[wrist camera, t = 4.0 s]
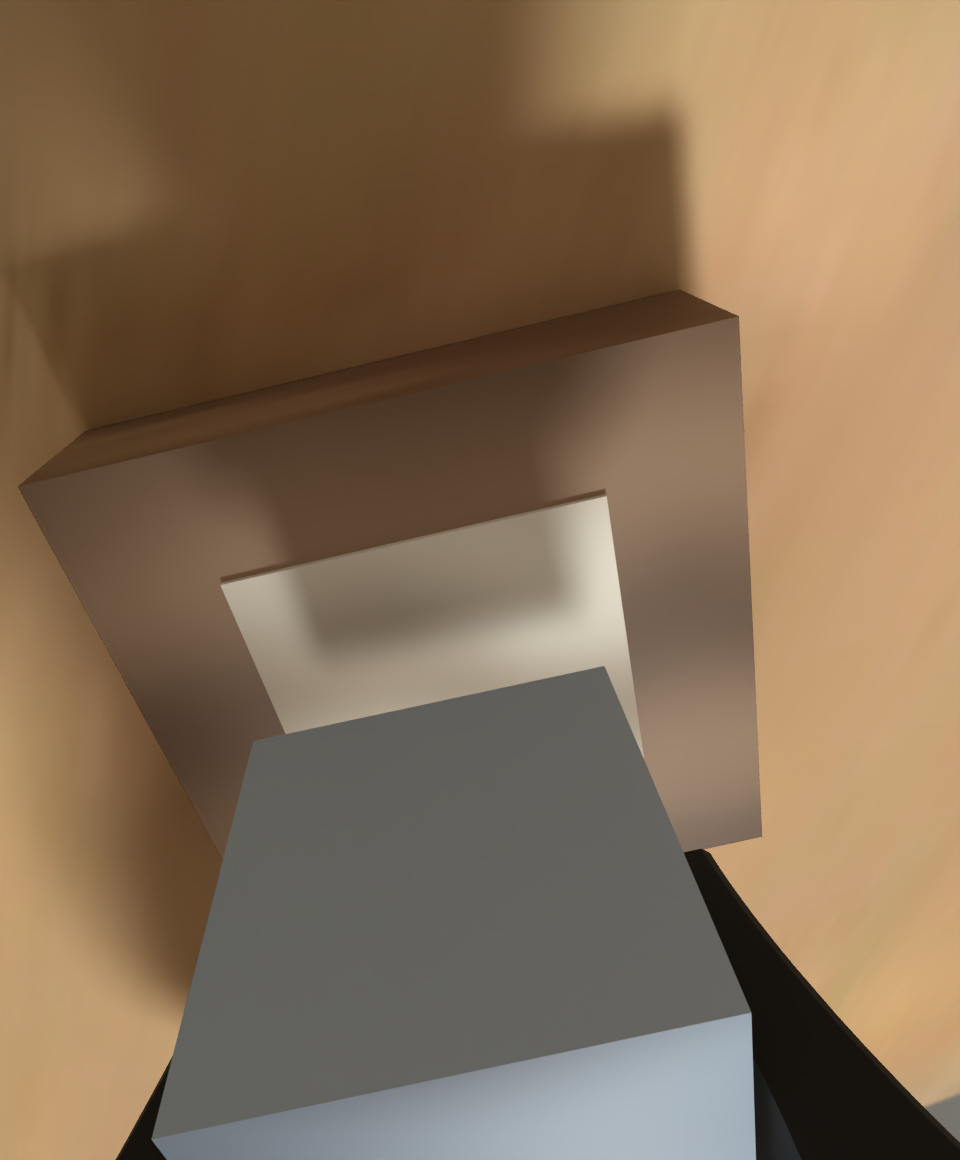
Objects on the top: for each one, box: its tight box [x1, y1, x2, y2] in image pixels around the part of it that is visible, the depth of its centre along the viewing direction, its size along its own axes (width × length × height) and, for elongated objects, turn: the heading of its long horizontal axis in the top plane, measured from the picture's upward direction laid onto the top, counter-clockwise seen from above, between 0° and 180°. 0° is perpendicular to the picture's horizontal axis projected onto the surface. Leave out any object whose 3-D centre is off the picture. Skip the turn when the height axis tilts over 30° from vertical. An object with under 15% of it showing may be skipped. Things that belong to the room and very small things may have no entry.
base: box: [18, 290, 762, 860], centre depth 16 cm, size 12×12×3 cm
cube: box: [151, 666, 756, 1160], centre depth 10 cm, size 5×5×5 cm
